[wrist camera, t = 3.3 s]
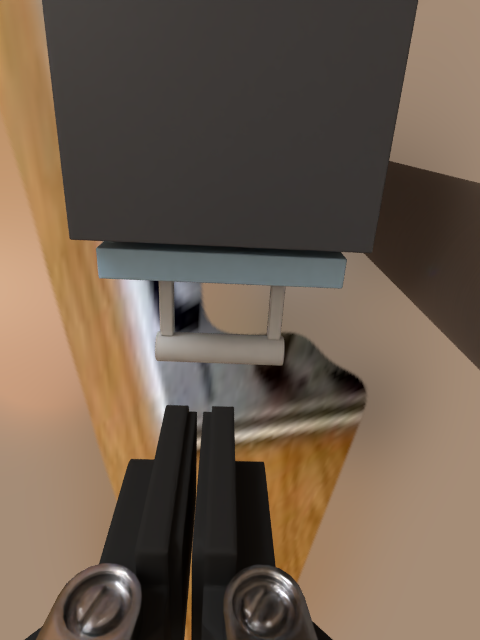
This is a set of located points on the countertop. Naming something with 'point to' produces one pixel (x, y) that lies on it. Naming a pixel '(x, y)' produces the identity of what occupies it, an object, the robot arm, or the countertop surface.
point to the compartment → (227, 118)
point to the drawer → (220, 268)
